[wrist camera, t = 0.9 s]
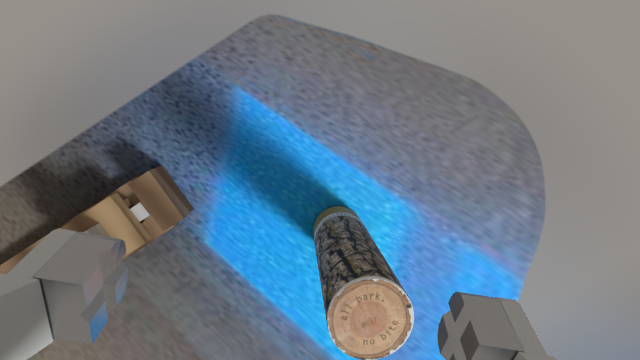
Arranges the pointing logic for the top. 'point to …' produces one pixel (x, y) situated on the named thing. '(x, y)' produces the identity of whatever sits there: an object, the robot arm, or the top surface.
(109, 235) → the carriage
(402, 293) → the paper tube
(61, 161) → the top surface
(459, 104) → the top surface
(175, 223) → the rail track
